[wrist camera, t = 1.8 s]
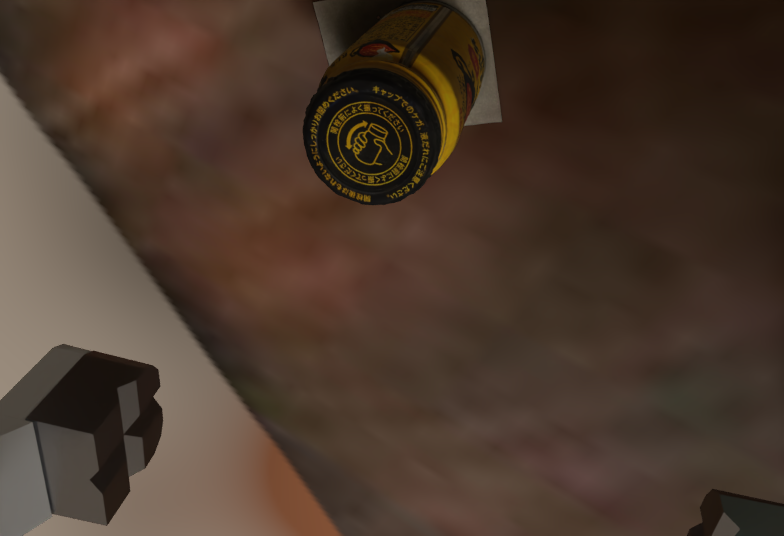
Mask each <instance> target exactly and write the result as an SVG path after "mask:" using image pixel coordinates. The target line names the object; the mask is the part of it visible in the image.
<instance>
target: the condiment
mask: <svg viewBox="0 0 784 536" xmlns="http://www.w3.org/2000/svg"><path fill="white" fill-rule="evenodd" d="M313 5H314V9H315V13H316V17H317V20H318V23H319V27H320V31H321V35H322V39H323V43H324V47H325V51H326V55H327V59H328V62H329V67H328V68H327V70H326V72H325V74H324V76H323V78H322V80H321V82H320V84H319V88H318V90H317V93H316V94H314V95H313V97H312V98H311V101H310V104H309V105H308V107H307V108H306V112H305V113H306V117H305V119H304V125H303V139H304V146H305V149H306V153H307V157H308V159H309V162H310V164H311V166H312V168H313V169H314V171H315V173H316V174H317V176H318V177H319V178H320V179H321V180H322V181H323V182H324V183H325V184H326V185H327V186H328V187H329V188H330V189H331V190H332V191H333V192H335V193H336V194H338V195H340V196H343V197H345V198H348V199H350V200H353V201H356V202H359V203H360V204H365V205H386V204H389V203H395V202H399V201H401V200H403V199H404V198H406V197H407V196H408V195H411V194H414V193H415V192H416V191H417V190H419V189H420V188H421V187H422V186H423V185H424V183H425V182H426V180H427V179H428V178H429V177H431V175H432V174H433V173H434V172H436V171H437V170H438V169H439V168H440V167H441V166H442V165H443V164H444V162H445V161H446V160H447V159H448V157H449V156H450V154H451V153H452V151H453V150H454V148H455V146H456V144H457V142H458V139H459V136H460V134H461V132H462V129H463V127H464V126H466V125H476V124H483V123H492V122H502V117H501V109H500V102H499V94H498V87H497V79H496V71H495V63H494V56H493V49H492V42H491V35H490V27H489V20H488V13H487V7H486V0H324V1H319V2H313ZM378 16H380V19H377V17H378Z"/></svg>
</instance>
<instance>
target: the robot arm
mask: <svg viewBox="0 0 784 536" xmlns="http://www.w3.org/2000/svg"><path fill="white" fill-rule="evenodd" d="M159 387H160V379H159V372H158V369H157V368H156V367H154V366H153V365H149V364H145V363H141V362H137V361H133V360H128V359H125V358H120V357H117V356H113V355H109V354H104V353H100V352H97V351H89V350H85V349H81V348H77V347H73V346H69V345H66V344H62V345H59V346H56V347H54V348H52V349H51V350H50V351H49V352H48V353H47V354H46V355H45V356H44V357H43V358H42V359H41V360H40V361H39V362H38V363H37V364H36V365H35V366H34V367H33V368H32V369H31V370H30V371H29V372H28V373H27V374H26V375H25V376H24V377H23V378H22V379H21V380H20V381H19V382H18V383H17V384H16V385H15V386H14V387H13V388H12V389H11V390H10V391H9V392H8V393H7V394H6V395H5V396H4V397H3V398H2V399H1V400H0V536H23V535H24V534H26V533H28V532H29V531H31V530H32V529H34V528H36V527H37V526H39V525H40V524H42V523H43V522H45V521H47V520H48V519H50V518H51V517H52V514H56V515H60V516H65V517H70V518H74V519H78V520H83V521H87V522H92V523H97V524H101V525H106V526H107V525H108V524H109V522H110V520H111V519H112V518H113V516H114V515H115V513H116V512H117V510H118V509H119V507H120V506H121V504H122V503H123V501H124V499H125V498H126V497H127V495H128V494H129V492H130V484H129V476H132V475H134V474H135V473H137V472H139V471H141V470H143V469H145V468H146V466H147V465H148V463H149V462H150V460H151V458H152V457H153V455H154V453H155V451H156V448H157V445H158V442H159V440H160V437H161V432H162V424H163V414H162V408H161V406H159V404H158V403H157V401H156V400H155V399H154V397H153V396H154V395H155V393H156V392H157V390H158V389H159ZM700 511H701V516H702V523H700V524H698V525H696V526H694V527H692V528H690V529H689V532H688V534H687V536H784V504H782V503H777V502H772V501H768V500H763V499H758V498H754V497H749V496H744V495H740V494H735V493H730V492H725V491H721V490H716V489H712V490H711V491H710V492H709V493H707V494H706V496H705V498H704V500H703V502H702V504H701V506H700Z"/></svg>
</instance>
